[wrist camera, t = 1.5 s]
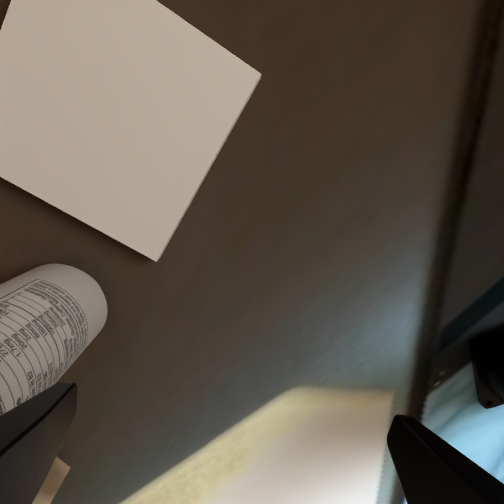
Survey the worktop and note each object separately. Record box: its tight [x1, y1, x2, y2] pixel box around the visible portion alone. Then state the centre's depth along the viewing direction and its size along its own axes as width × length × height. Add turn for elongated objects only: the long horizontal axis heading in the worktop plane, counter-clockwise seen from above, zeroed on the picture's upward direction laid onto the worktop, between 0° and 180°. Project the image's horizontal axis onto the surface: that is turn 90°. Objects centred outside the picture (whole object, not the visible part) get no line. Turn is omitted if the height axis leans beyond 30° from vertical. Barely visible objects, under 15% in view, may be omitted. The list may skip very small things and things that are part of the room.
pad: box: [0, 0, 261, 261], centre depth 18 cm, size 13×13×1 cm
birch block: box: [32, 457, 70, 504], centre depth 23 cm, size 5×5×5 cm
